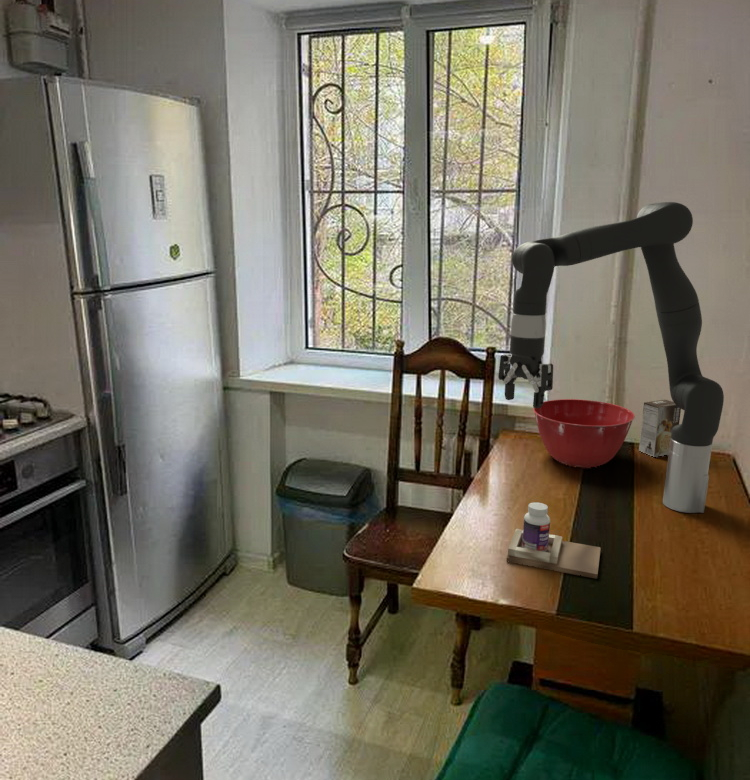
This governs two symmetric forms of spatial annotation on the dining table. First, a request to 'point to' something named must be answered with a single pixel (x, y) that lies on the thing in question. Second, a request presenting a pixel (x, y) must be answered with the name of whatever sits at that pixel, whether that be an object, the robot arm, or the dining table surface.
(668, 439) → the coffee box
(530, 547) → the pill bottle
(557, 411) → the mixing bowl
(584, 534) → the dining table surface
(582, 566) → the socket board
